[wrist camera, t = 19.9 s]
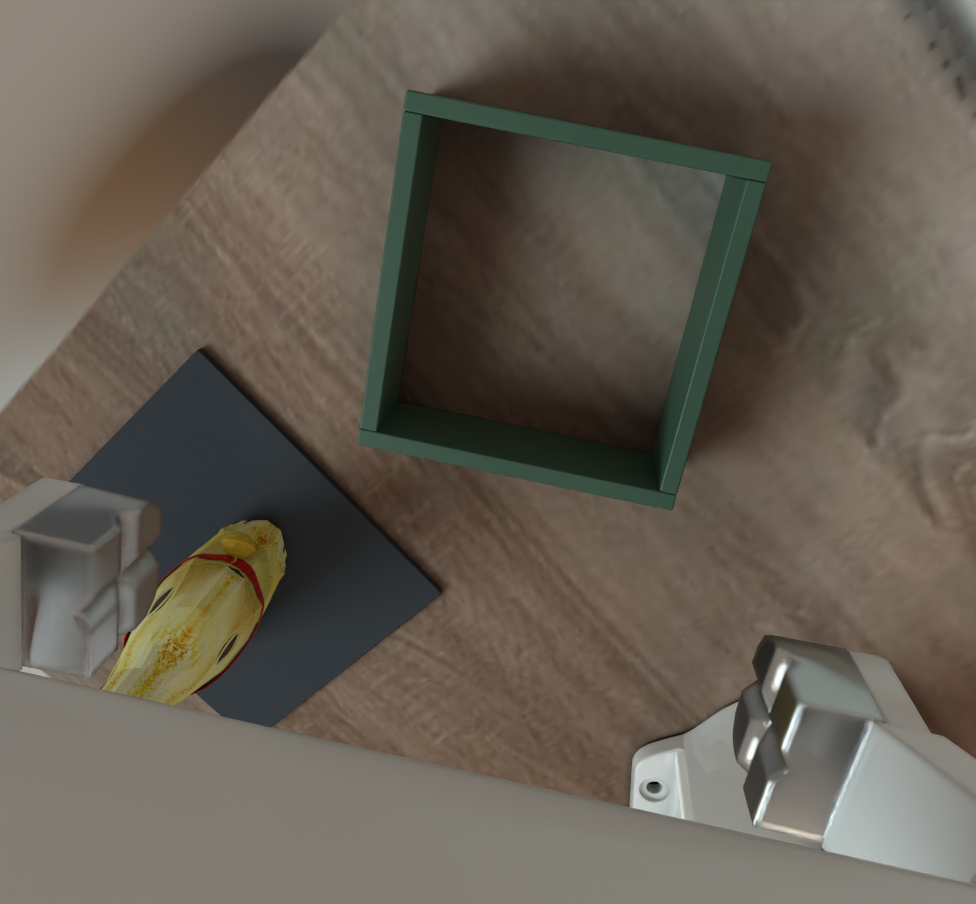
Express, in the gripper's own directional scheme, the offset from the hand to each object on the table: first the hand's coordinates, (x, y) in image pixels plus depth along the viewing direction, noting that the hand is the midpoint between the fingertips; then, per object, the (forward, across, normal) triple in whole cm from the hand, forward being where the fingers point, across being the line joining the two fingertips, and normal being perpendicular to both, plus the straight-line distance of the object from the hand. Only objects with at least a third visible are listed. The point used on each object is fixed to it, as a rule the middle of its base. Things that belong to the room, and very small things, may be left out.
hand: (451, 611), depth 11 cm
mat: (+31, +14, +19) cm, 39 cm away
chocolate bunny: (+31, +14, +19) cm, 39 cm away
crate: (+31, -1, +1) cm, 31 cm away
